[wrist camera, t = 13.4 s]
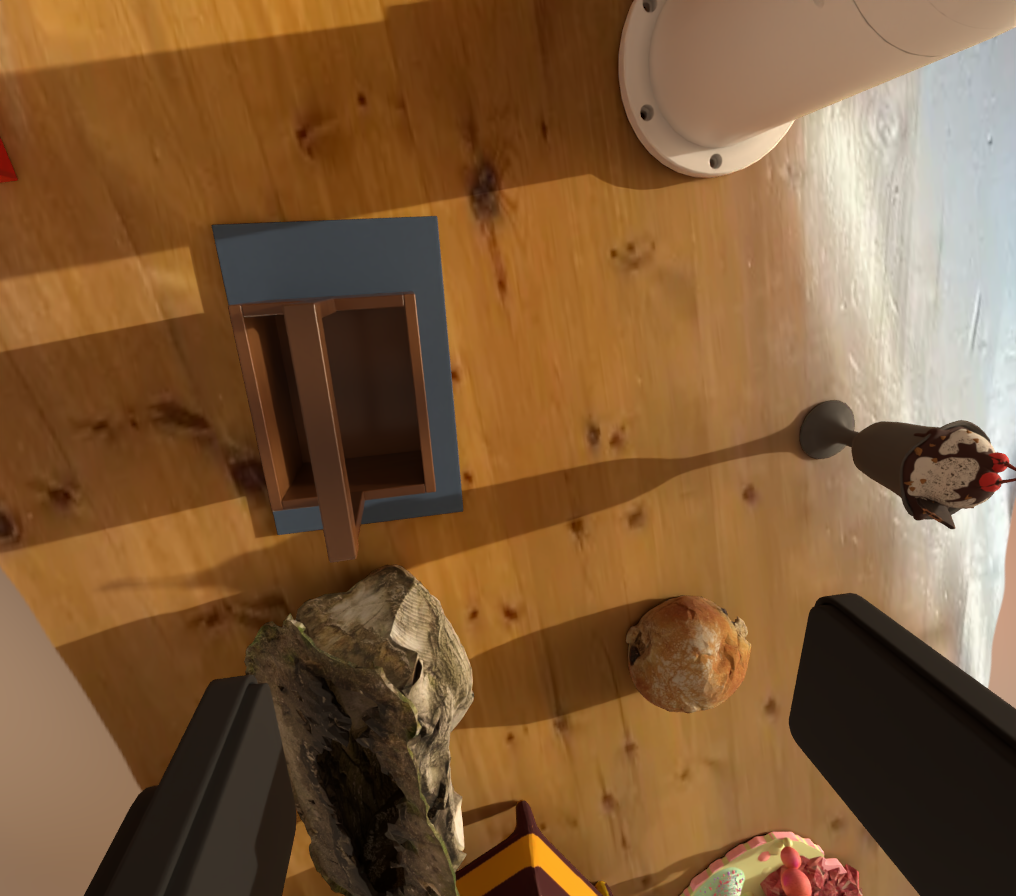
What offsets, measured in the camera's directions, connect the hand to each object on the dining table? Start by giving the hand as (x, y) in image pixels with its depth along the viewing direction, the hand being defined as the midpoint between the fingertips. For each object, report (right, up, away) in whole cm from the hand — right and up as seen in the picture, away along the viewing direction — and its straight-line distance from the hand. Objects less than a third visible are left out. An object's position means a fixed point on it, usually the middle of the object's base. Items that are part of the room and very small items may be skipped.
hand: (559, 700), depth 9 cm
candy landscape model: (+28, -50, +52) cm, 78 cm away
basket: (-11, +9, +25) cm, 29 cm away
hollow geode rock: (-11, -16, +34) cm, 39 cm away
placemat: (-11, +9, +26) cm, 29 cm away
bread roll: (+14, -12, +38) cm, 42 cm away
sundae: (+25, +6, +34) cm, 43 cm away
